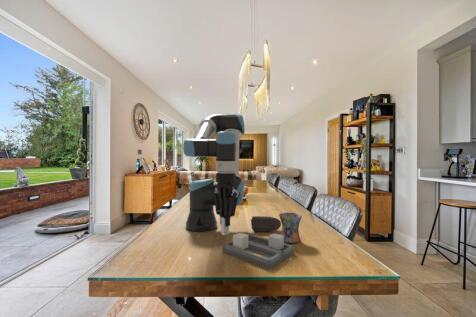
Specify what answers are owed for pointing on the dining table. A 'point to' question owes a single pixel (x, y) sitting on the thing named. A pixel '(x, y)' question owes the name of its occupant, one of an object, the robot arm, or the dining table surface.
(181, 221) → the dining table surface
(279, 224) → the perforated stone tool
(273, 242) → the pale grey cube
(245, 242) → the off-white cube
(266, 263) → the gray divided tray
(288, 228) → the mug
